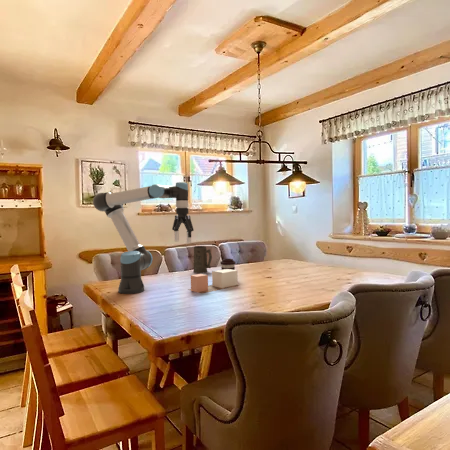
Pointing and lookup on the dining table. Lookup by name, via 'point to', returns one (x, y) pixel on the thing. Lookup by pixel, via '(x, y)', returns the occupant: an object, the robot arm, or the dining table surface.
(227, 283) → the cream white block
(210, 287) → the board
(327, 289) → the dining table surface
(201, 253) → the beer stein
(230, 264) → the coffee cup
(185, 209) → the robot arm
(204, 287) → the stub
